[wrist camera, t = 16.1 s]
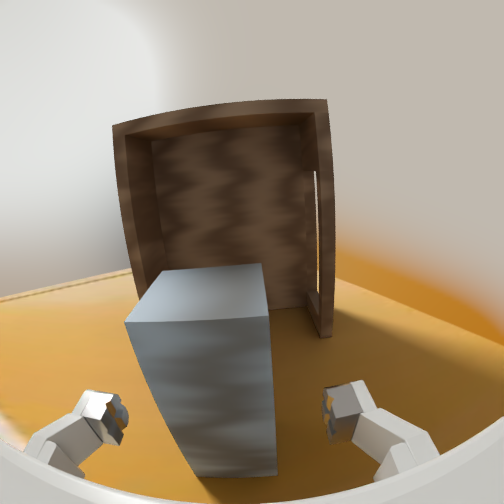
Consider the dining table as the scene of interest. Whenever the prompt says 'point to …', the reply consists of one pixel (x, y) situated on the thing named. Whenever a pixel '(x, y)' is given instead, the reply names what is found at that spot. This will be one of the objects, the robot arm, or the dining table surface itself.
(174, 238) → the walnut box
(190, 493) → the dining table surface
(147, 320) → the slate block
